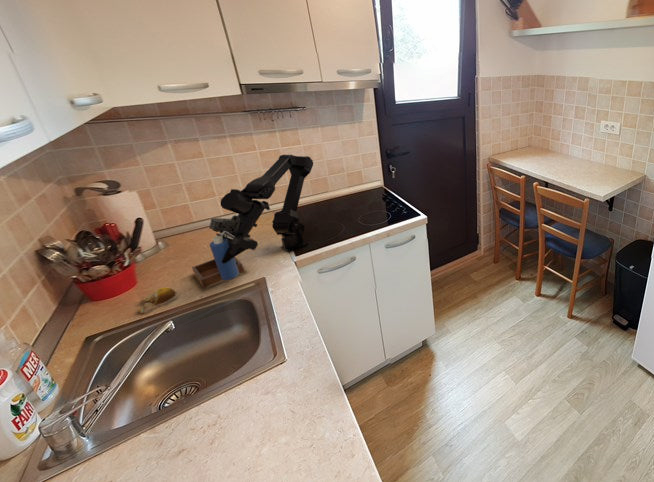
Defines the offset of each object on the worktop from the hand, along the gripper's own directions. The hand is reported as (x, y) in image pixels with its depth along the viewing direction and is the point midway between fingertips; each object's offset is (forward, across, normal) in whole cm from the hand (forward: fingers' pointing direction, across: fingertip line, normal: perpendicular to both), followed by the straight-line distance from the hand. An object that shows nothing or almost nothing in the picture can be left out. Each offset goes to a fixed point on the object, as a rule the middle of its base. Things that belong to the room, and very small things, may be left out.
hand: (219, 260), depth 106 cm
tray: (+6, -10, +8) cm, 14 cm away
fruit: (+19, -10, -4) cm, 22 cm away
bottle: (+4, 0, +6) cm, 7 cm away
